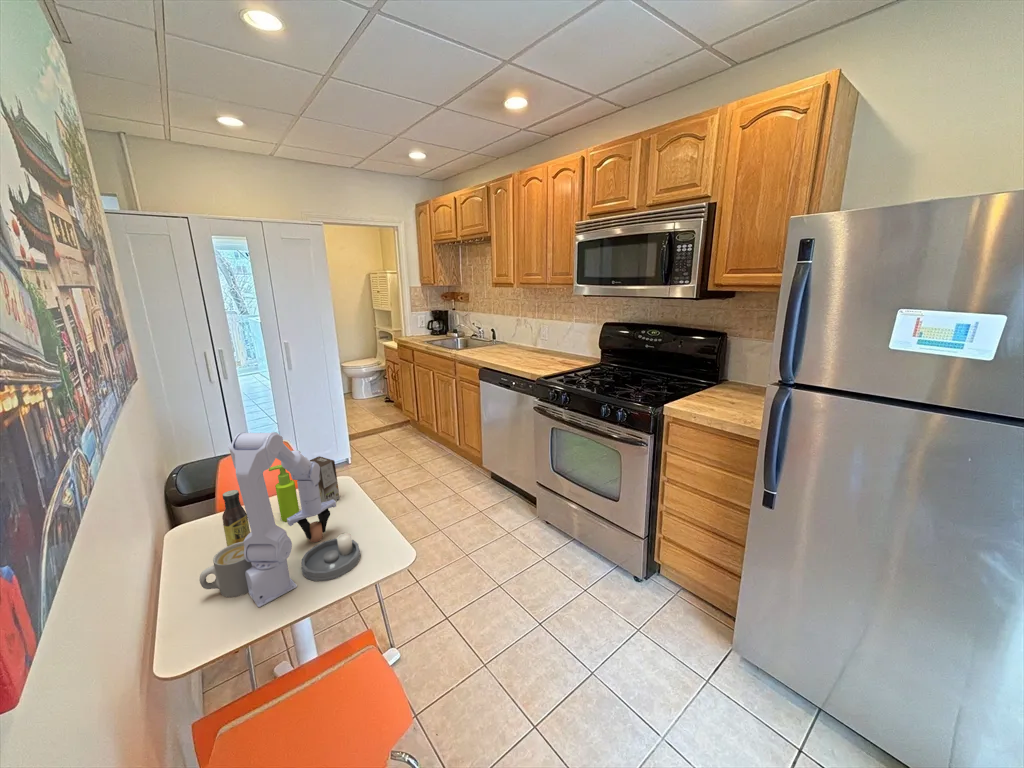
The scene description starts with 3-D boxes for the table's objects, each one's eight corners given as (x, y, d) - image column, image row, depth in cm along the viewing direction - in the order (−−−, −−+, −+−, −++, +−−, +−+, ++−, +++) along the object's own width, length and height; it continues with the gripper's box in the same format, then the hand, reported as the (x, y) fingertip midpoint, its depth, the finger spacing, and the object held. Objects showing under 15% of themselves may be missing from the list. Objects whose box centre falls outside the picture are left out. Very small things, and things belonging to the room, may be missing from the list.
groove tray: (316, 590, 109) (315, 582, 108) (292, 564, 119) (291, 556, 118) (370, 559, 120) (369, 552, 120) (344, 538, 130) (343, 531, 130)
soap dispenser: (278, 515, 144) (269, 464, 139) (300, 511, 147) (291, 460, 142) (277, 524, 139) (267, 471, 134) (299, 519, 142) (290, 467, 137)
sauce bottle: (241, 558, 122) (228, 500, 117) (223, 556, 123) (210, 498, 118) (258, 545, 128) (247, 489, 123) (241, 543, 129) (229, 487, 124)
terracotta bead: (314, 543, 128) (312, 530, 127) (307, 539, 130) (305, 526, 129) (325, 537, 131) (324, 523, 130) (318, 533, 133) (316, 520, 132)
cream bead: (342, 557, 120) (340, 542, 119) (336, 551, 123) (334, 537, 121) (355, 550, 123) (353, 536, 121) (349, 545, 125) (347, 531, 124)
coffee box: (340, 498, 155) (335, 460, 151) (326, 506, 149) (320, 467, 145) (324, 493, 159) (319, 455, 155) (310, 500, 154) (304, 462, 150)
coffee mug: (263, 566, 118) (258, 537, 115) (262, 588, 109) (255, 557, 107) (208, 583, 112) (200, 552, 109) (201, 607, 103) (193, 574, 101)
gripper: (327, 484, 135) (332, 520, 138) (280, 502, 124) (287, 540, 128) (337, 491, 130) (342, 528, 134) (289, 510, 120) (296, 549, 123)
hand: (316, 534), depth 130 cm, fingers closed on terracotta bead, 4 cm apart
